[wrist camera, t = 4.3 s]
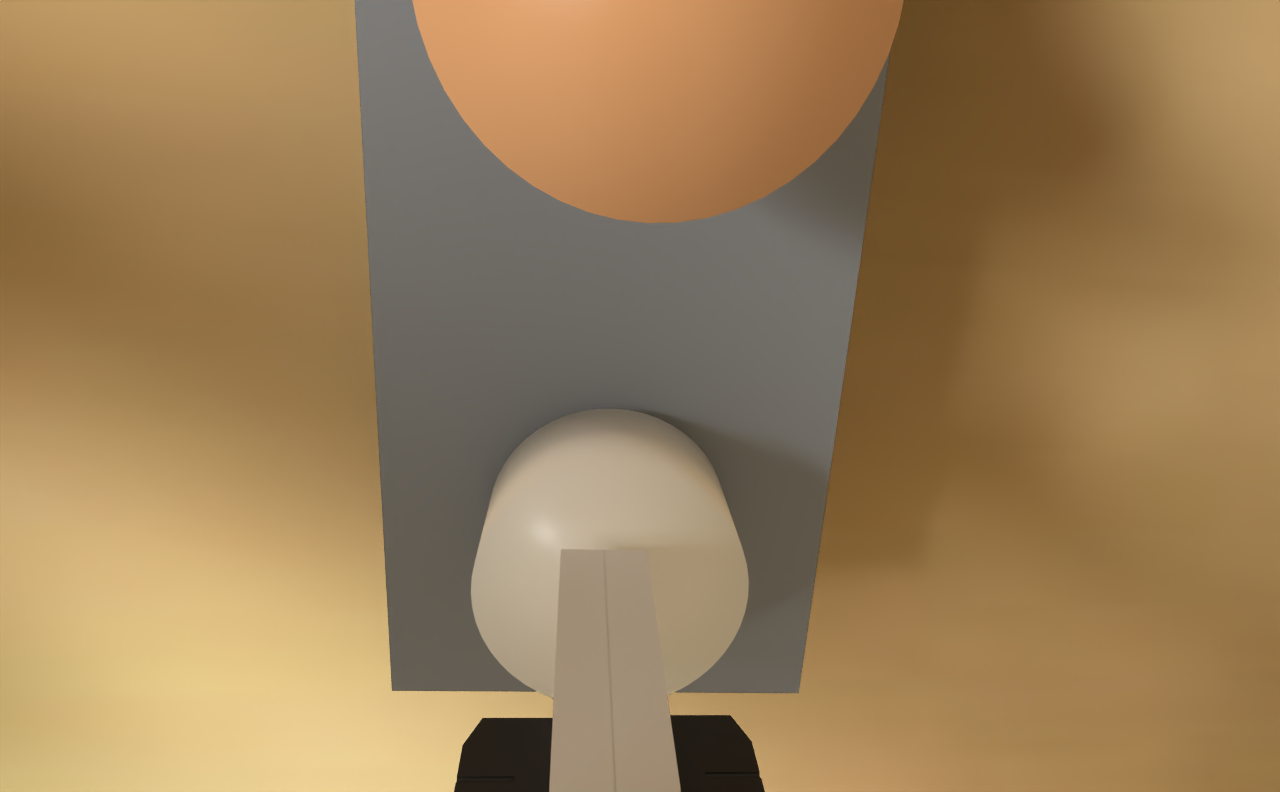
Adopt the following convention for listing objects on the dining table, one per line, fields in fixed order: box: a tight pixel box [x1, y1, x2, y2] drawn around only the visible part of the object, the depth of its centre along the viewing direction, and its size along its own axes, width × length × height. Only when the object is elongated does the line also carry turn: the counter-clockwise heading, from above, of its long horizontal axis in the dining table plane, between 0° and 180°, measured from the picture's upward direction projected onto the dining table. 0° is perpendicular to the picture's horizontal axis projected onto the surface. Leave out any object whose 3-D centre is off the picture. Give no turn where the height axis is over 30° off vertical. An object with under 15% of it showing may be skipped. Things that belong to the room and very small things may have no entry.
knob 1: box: [412, 0, 904, 223], centre depth 14 cm, size 5×5×11 cm
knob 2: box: [471, 408, 749, 699], centre depth 21 cm, size 5×5×11 cm
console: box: [355, 0, 891, 693], centre depth 21 cm, size 10×20×8 cm, turn 177°
